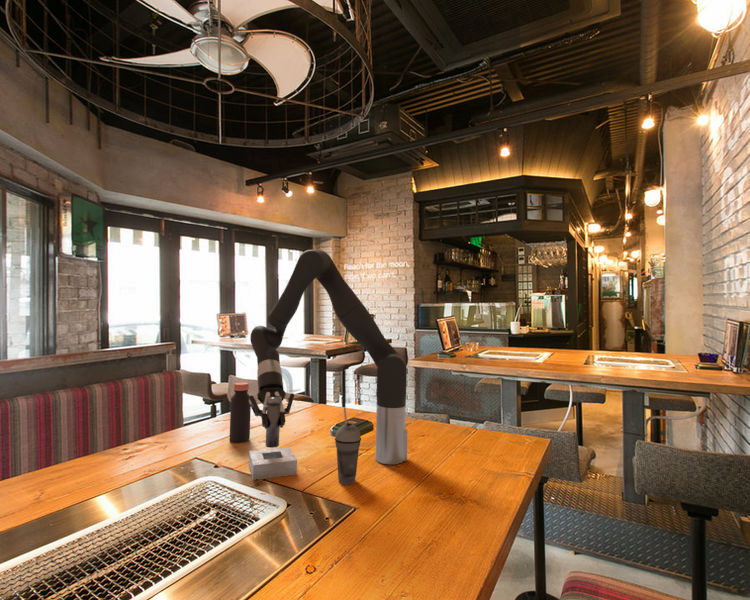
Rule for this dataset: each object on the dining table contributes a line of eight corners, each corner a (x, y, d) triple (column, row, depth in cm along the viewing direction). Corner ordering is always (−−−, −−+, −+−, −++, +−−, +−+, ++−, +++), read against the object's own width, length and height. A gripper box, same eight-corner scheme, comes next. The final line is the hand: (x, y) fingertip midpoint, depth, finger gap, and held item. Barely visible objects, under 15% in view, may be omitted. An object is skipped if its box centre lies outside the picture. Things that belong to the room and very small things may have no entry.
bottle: (253, 439, 144) (255, 383, 144) (238, 444, 138) (240, 386, 139) (241, 435, 147) (242, 381, 148) (225, 440, 142) (227, 383, 142)
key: (278, 442, 121) (280, 395, 121) (281, 447, 117) (283, 398, 117) (263, 443, 119) (265, 396, 119) (265, 448, 115) (267, 399, 115)
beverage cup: (356, 488, 106) (358, 412, 107) (330, 485, 108) (332, 410, 108) (362, 477, 114) (364, 406, 114) (338, 474, 115) (339, 404, 116)
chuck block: (288, 459, 126) (289, 446, 126) (296, 474, 114) (297, 460, 115) (248, 464, 121) (249, 450, 121) (252, 480, 110) (253, 465, 110)
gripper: (247, 371, 123) (249, 421, 111) (294, 369, 128) (300, 418, 117) (245, 385, 127) (247, 435, 116) (290, 383, 133) (296, 431, 121)
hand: (274, 426), depth 116 cm, fingers closed on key, 3 cm apart
